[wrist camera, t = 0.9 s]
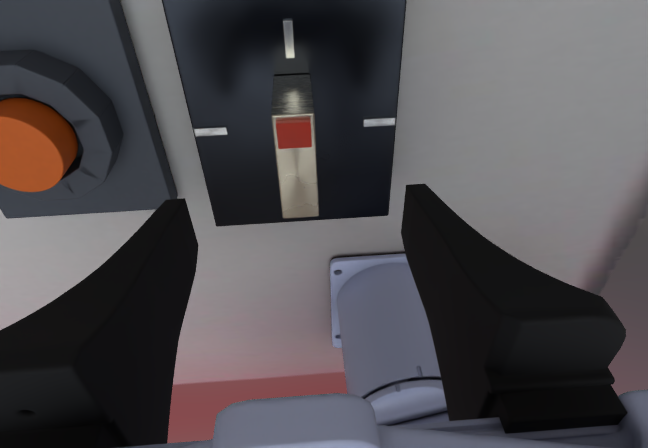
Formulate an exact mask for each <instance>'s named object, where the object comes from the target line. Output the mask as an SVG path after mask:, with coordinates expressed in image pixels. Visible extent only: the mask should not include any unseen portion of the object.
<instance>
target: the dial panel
mask: <svg viewBox="0 0 648 448" xmlns="http://www.w3.org/2000/svg"><path fill="white" fill-rule="evenodd" d="M162 3H163V7H164V12H165V16H166V20H167V24H168V28H169V32H170V36H171V41H172V45H173V49H174V53H175V57H176V61H177V65H178V70H179V74H180V78H181V82H182V86H183V90H184V94H185V99H186V103H187V107H188V111H189V115H190V119H191V123H192V128H193V132H194V136H195V140H196V144H197V148H198V152H199V157H200V161H201V165H202V169H203V173H204V177H205V182H206V186H207V190H208V194H209V198H210V202H211V206H212V211H213V215H214V219H215V223H216V226H230V225H246V224H262V223H278V222H293V221H309V220H325V219H341V218H356V217H372V216H387V215H388V213H389V201H390V190H391V178H392V166H393V154H394V142H395V130H396V118H397V106H398V94H399V82H400V70H401V58H402V46H403V34H404V23H405V11H406V0H162ZM307 74H309V75H310V78H311V87H312V96H313V106H314V116H315V138H316V160H317V182H318V204H319V216H314V217H298V218H283V216H282V208H281V199H280V190H279V181H278V172H277V163H276V155H275V146H274V137H273V128H272V119H271V111H272V93H273V77H274V76H288V75H307Z"/></svg>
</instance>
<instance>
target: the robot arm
mask: <svg viewBox="0 0 648 448" xmlns="http://www.w3.org/2000/svg"><path fill="white" fill-rule="evenodd" d="M401 234H402V239H403V244H404V249H405V253H403V254H388V255H373V256H358V257H343V258H334V259H333V260H331V262H330V288H331V325H332V345H333V346H334V347H336V348H342V351H343V360H344V369H345V377H346V386H347V394H340V393H333V394H320V395H307V396H293V397H281V398H267V399H254V400H246V401H242V402H237V403H233V404H231V405H229V406H228V407H226V408H225V409H224V410H222V411H221V412H219V413H218V414H217V416H216V422H215V429H214V437H213V439H211V440H207V441H206V440H205V441H193V442H181V443H167V438H168V425H169V414H170V404H171V394H172V385H173V377H174V369H175V361H176V354H177V347H178V341H179V336H180V331H181V327H182V323H183V319H184V315H185V311H186V308H187V304H188V300H189V296H190V292H191V288H192V284H193V280H194V276H195V272H196V264H197V254H198V243H197V239H196V236H195V232H194V229H193V225H192V222H191V218H190V215H189V211H188V208H187V204H186V201H185V199H169V200H165V201H164V202H163V203H162V204H161V205H160V207H159V208H158V209H157V210H156V211H155V212H154V213H153V214H152V215H151V217H150V218H149V219H148V220H147V221H146V222H145V223H144V224H143V225H142V226H141V227H140V229H139V230H138V231H137V232H136V233H135V234H134V235H133V236H132V237H131V238H130V239H129V240H128V241H127V242H126V243H125V244H124V245H123V246H122V247H121V248H120V249H119V250H118V251H117V252H116V253H115V254H113V255H112V256H111V257H110V258H109V259H108V260H107V261H106V262H105V263H104V264H102V265H101V266H100V267H99V268H98V269H97V270H95V271H94V272H93V273H91V274H90V275H89V276H88V277H86V278H85V279H84V280H83V281H81V282H80V283H78V284H77V285H76V286H74V287H73V288H71V289H70V290H68V291H67V292H65V293H64V294H62V295H61V296H60V297H58V298H57V299H55V300H54V301H52V302H50V303H49V304H47V305H46V306H44V307H42V308H41V309H39V310H37V311H36V312H34V313H32V314H30V315H29V316H27V317H25V318H23V319H21V320H20V321H18V322H16V323H14V324H12V325H10V326H8V327H6V328H4V329H2V330H0V448H648V390H636V391H630V392H626V393H623V394H621V395H619V396H617V394H616V393H615V391H614V390H613V388H612V386H611V384H613V383H614V377H613V376H612V374H611V372H610V371H609V369H608V366H609V364H610V363H611V361H612V360H613V358H614V357H615V355H616V354H617V352H618V351H619V350H620V348H621V346H622V344H623V342H624V340H625V337H626V329H625V328H624V326H623V325H622V323H621V322H620V320H619V319H618V317H617V316H616V314H615V313H614V311H613V310H612V309H611V307H610V306H609V305H608V303H607V302H606V301H605V300H604V299H603V297H601V296H598V295H595V294H593V293H590V292H587V291H585V290H582V289H580V288H577V287H574V286H572V285H569V284H567V283H564V282H562V281H560V280H558V279H555V278H553V277H551V276H549V275H547V274H545V273H543V272H541V271H539V270H537V269H535V268H533V267H531V266H529V265H527V264H526V263H524V262H522V261H520V260H518V259H516V258H515V257H513V256H511V255H510V254H508V253H507V252H505V251H504V250H502V249H501V248H499V247H498V246H496V245H495V244H493V243H492V242H490V241H489V240H487V239H486V238H485V237H483V236H482V235H481V234H480V233H478V232H477V231H476V230H474V229H473V228H472V227H471V226H469V225H468V224H467V223H466V222H465V221H464V220H462V219H461V218H460V217H459V216H458V215H457V214H456V213H455V212H453V211H452V210H451V209H450V208H449V207H448V206H447V205H446V204H445V203H444V202H443V201H442V200H441V199H440V198H439V197H438V196H437V195H436V194H435V193H434V192H433V191H432V190H431V189H430V188H429V187H428V186H427V185H426V184H413V185H406V193H405V202H404V211H403V220H402V229H401ZM335 270H339V271H335Z"/></svg>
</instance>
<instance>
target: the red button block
mask: <svg viewBox="0 0 648 448" xmlns="http://www.w3.org/2000/svg"><path fill="white" fill-rule="evenodd" d="M271 119H272V128H273V137H274V146H275V155H276V163H277V172H278V181H279V190H280V199H281V208H282V216H283V218H298V217H314V216H319V204H318V182H317V160H316V138H315V116H314V106H313V96H312V87H311V78H310V75H309V74H307V75H288V76H274V77H273V93H272V111H271Z"/></svg>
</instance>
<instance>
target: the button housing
mask: <svg viewBox="0 0 648 448" xmlns="http://www.w3.org/2000/svg"><path fill="white" fill-rule="evenodd" d="M8 98H26V99H30V100H34V101H37V102H40V103H42V104H44V105H46V106H48V107H50V108H52V109H53V110H55V111H56V112H57V113H59V114H60V115H61V116H62V117H63V118H64V119H65V120H66V121H67V122H68V123H69V125H70V126H71V128H72V129H73V131H74V133H75V135H76V138H77V143H78V152H77V155H76V158H75V159H74V161H73V162H72V164H71V165H70V167H69V168H68V170H67V171H66V173H65V174H64V175H63V177H62V178H61V180H60V181H59V182H58V183H57V184H56V185H55V186H53V187H52V188H50V189H47V190H44V191H39V192H23V191H18V190H14V189H11V188H8V187H5V186H3V185H1V184H0V209H1V210H2V212H3V214H4V215H5V217H6V218H23V217H39V216H55V215H71V214H87V213H103V212H120V211H136V210H152V209H158V208H159V207H160V205H161V204H162V203H163V202H164V201H165V200H169V199H177V196H178V195H177V192H176V189H175V185H174V182H173V178H172V175H171V172H170V168H169V165H168V162H167V158H166V155H165V152H164V148H163V145H162V141H161V138H160V135H159V131H158V128H157V125H156V121H155V118H154V115H153V111H152V108H151V104H150V101H149V98H148V94H147V91H146V88H145V84H144V81H143V78H142V74H141V71H140V67H139V64H138V61H137V57H136V54H135V51H134V47H133V44H132V41H131V37H130V34H129V30H128V27H127V24H126V20H125V17H124V14H123V10H122V7H121V4H120V0H0V101H2V100H4V99H8Z"/></svg>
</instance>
